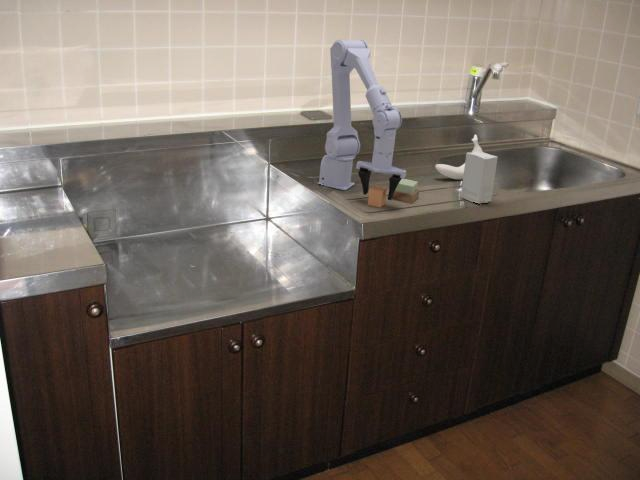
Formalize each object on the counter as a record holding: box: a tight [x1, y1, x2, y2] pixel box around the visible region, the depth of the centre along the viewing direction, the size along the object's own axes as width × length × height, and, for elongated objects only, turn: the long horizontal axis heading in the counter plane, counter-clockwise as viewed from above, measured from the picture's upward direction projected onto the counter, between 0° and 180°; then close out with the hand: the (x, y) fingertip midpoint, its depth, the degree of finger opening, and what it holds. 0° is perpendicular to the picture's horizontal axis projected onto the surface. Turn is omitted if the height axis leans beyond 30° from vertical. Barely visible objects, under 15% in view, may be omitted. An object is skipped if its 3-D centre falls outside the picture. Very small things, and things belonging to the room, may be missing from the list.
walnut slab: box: [391, 188, 420, 205], centre depth 214 cm, size 7×7×3 cm
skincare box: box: [460, 151, 499, 204], centre depth 217 cm, size 8×6×15 cm
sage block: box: [395, 178, 419, 195], centre depth 213 cm, size 6×6×2 cm
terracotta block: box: [367, 184, 388, 208], centre depth 206 cm, size 4×4×5 cm
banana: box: [434, 134, 484, 181], centre depth 237 cm, size 5×19×15 cm, turn 125°
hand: (377, 196), depth 206 cm, fingers open, 7 cm apart
